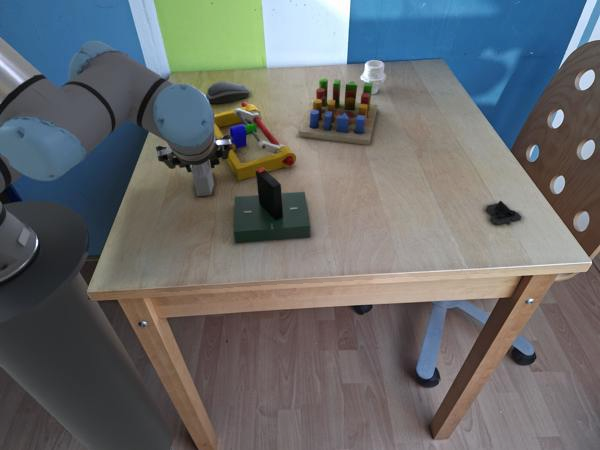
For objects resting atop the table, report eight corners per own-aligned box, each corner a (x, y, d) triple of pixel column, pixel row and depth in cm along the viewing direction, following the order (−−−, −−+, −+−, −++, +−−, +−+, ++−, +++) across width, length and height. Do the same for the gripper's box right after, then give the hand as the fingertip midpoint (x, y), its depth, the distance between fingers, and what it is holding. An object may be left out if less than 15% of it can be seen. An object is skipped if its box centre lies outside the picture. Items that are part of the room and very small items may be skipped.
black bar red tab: (283, 217, 79) (280, 182, 74) (275, 220, 79) (273, 186, 73) (266, 200, 83) (262, 166, 77) (259, 203, 82) (255, 169, 76)
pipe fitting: (357, 87, 123) (359, 59, 118) (381, 85, 124) (384, 58, 118) (361, 97, 119) (364, 69, 113) (386, 95, 119) (390, 68, 114)
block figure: (509, 193, 84) (527, 211, 80) (505, 202, 86) (523, 220, 82) (482, 199, 83) (500, 218, 79) (479, 208, 85) (496, 227, 81)
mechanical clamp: (248, 87, 111) (298, 144, 91) (251, 108, 115) (298, 167, 96) (179, 102, 105) (216, 166, 86) (184, 125, 110) (220, 190, 90)
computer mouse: (252, 97, 120) (251, 84, 117) (209, 106, 116) (207, 92, 114) (245, 87, 124) (243, 74, 121) (204, 95, 121) (201, 82, 118)
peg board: (298, 137, 105) (297, 105, 99) (313, 103, 117) (313, 73, 111) (369, 145, 101) (372, 113, 95) (377, 109, 113) (380, 79, 108)
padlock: (195, 176, 94) (186, 137, 87) (214, 174, 94) (206, 136, 87) (194, 197, 89) (184, 157, 82) (214, 195, 89) (205, 155, 82)
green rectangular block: (235, 243, 79) (233, 231, 77) (236, 207, 86) (234, 195, 84) (310, 237, 80) (310, 225, 77) (304, 202, 87) (304, 190, 85)
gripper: (239, 108, 71) (236, 140, 94) (132, 124, 67) (156, 154, 90) (248, 152, 71) (243, 174, 94) (141, 170, 67) (163, 188, 90)
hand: (200, 164), depth 92 cm, fingers open, 4 cm apart
